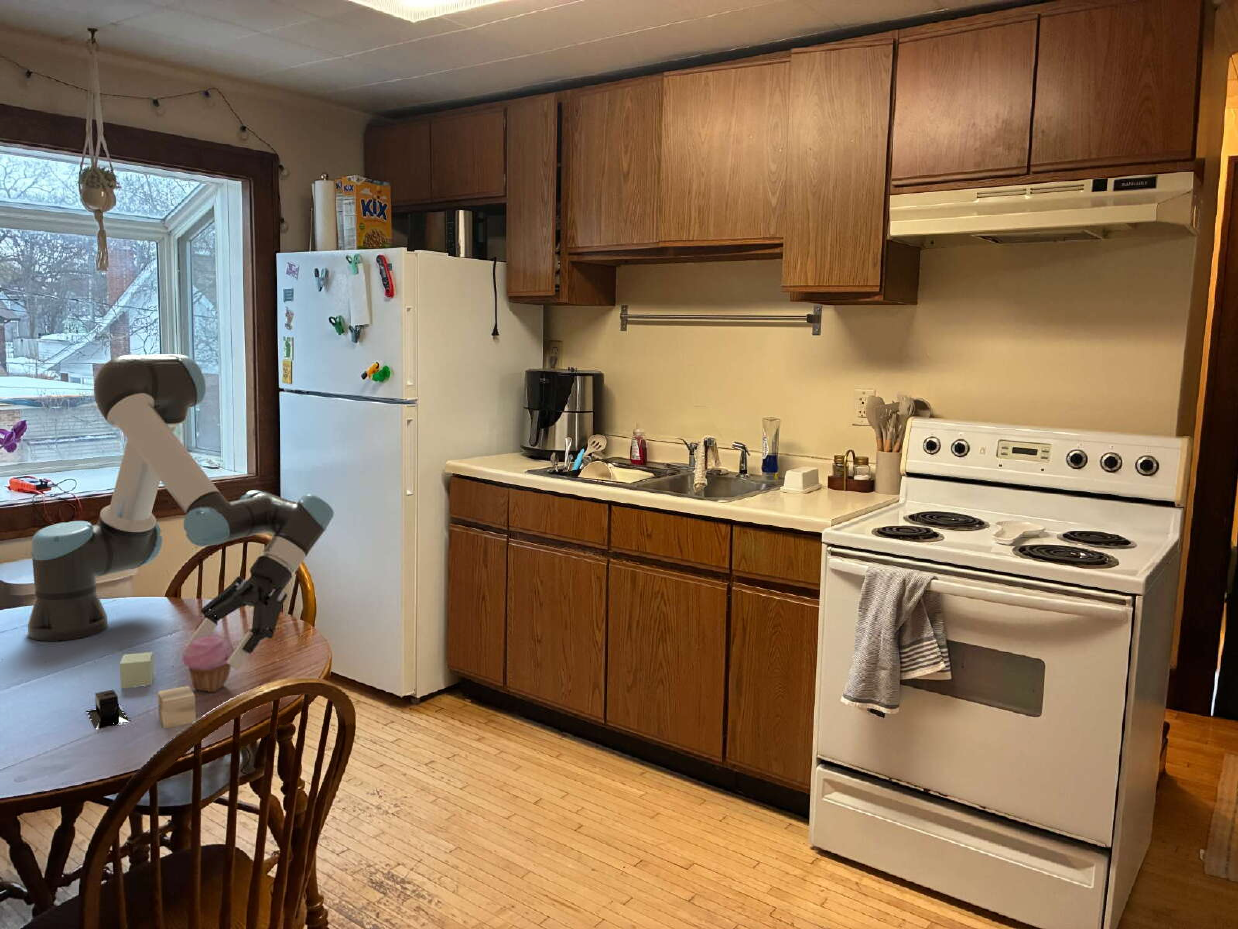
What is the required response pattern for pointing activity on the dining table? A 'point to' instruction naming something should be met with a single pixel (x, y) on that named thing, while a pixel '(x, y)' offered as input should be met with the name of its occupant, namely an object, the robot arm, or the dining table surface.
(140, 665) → the sage block
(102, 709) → the black piece
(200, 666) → the cupcake
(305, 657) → the dining table surface
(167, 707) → the birch block
